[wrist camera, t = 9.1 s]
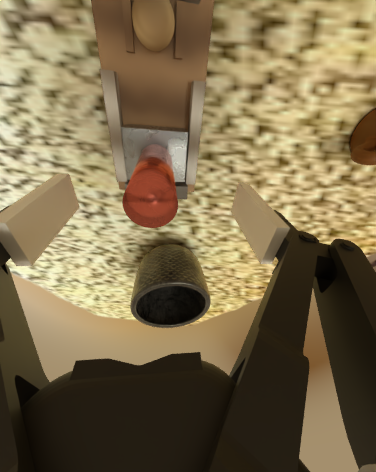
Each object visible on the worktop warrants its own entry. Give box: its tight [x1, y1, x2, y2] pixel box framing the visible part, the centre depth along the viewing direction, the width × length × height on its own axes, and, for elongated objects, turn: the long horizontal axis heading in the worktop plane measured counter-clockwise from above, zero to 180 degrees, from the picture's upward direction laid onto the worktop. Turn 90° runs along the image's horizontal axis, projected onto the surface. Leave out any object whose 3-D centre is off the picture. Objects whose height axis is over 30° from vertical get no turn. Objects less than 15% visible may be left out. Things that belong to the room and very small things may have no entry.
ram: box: [121, 124, 188, 228], centre depth 19 cm, size 6×8×16 cm
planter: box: [130, 244, 210, 328], centre depth 36 cm, size 14×14×13 cm
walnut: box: [132, 0, 175, 51], centre depth 17 cm, size 4×4×4 cm
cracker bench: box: [91, 0, 214, 199], centre depth 20 cm, size 24×12×9 cm, turn 175°
